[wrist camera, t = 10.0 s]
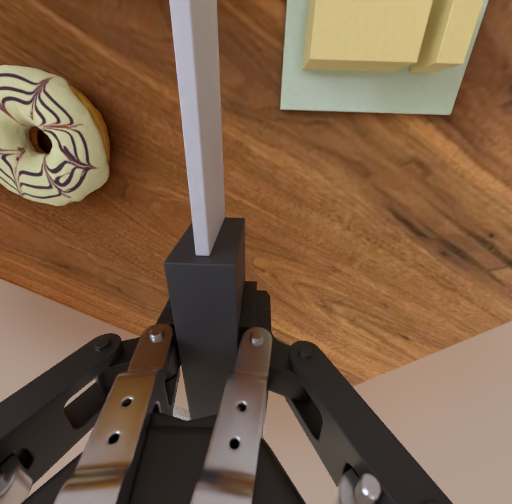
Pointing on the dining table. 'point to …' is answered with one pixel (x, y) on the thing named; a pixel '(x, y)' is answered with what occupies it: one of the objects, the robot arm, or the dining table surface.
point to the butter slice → (447, 35)
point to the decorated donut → (59, 131)
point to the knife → (204, 220)
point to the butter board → (362, 80)
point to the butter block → (364, 34)
